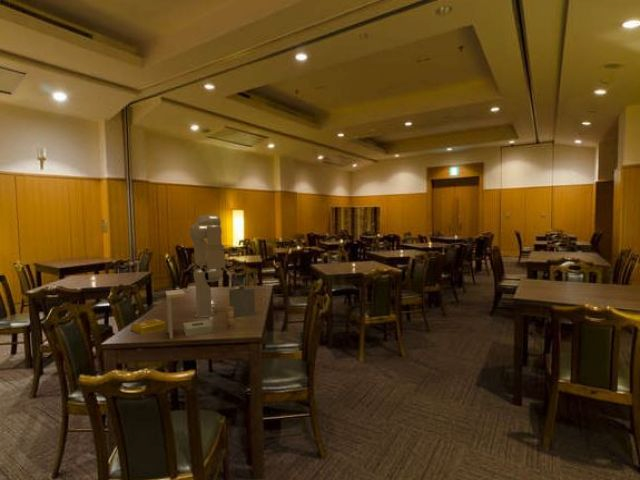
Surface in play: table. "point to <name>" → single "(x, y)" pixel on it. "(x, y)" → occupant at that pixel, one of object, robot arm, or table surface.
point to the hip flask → (242, 301)
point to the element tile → (148, 326)
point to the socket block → (189, 327)
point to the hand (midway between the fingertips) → (216, 278)
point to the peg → (230, 317)
